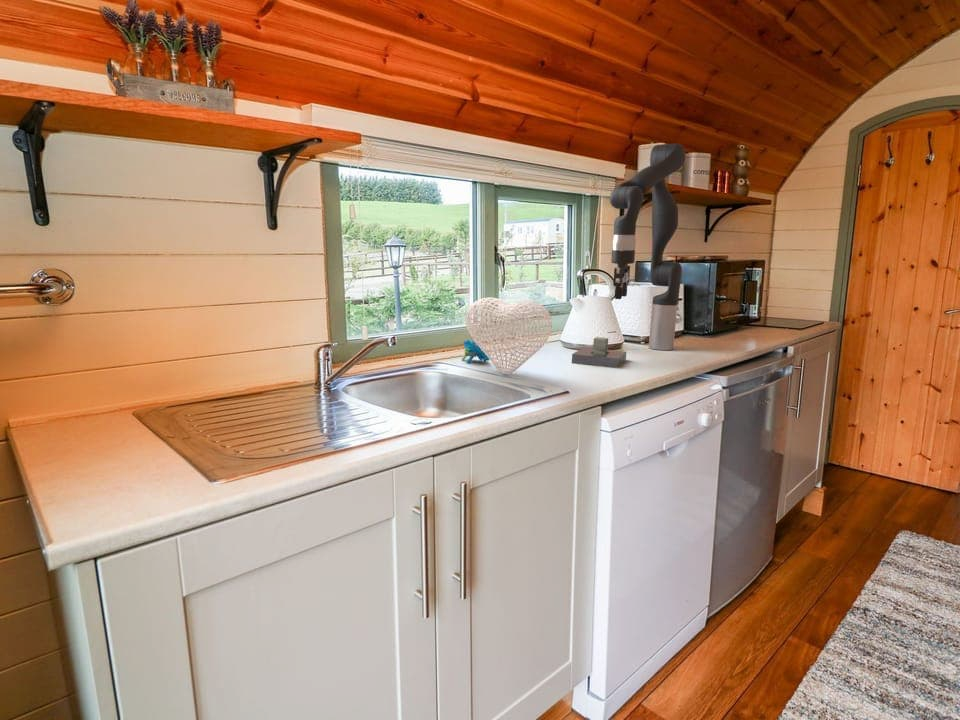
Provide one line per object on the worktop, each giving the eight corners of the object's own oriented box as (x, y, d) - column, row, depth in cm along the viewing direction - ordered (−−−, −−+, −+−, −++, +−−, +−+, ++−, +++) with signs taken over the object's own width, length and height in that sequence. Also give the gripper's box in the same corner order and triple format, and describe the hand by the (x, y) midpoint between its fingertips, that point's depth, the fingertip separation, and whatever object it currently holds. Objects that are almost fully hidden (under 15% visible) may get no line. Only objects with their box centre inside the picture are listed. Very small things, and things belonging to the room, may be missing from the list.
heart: (559, 378, 169) (563, 302, 165) (526, 386, 158) (529, 304, 154) (488, 363, 188) (490, 294, 184) (454, 369, 177) (455, 296, 173)
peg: (595, 360, 199) (596, 336, 198) (606, 361, 198) (608, 338, 196) (592, 361, 196) (593, 338, 194) (604, 363, 194) (605, 339, 192)
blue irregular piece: (496, 359, 187) (476, 338, 183) (485, 373, 185) (465, 352, 181) (478, 357, 197) (459, 338, 192) (468, 371, 195) (448, 351, 191)
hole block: (583, 355, 206) (583, 347, 206) (625, 360, 200) (626, 351, 200) (571, 362, 193) (572, 354, 192) (617, 367, 187) (617, 358, 186)
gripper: (616, 248, 201) (614, 295, 204) (607, 249, 188) (604, 299, 192) (638, 248, 198) (635, 296, 201) (630, 249, 185) (627, 300, 189)
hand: (620, 297), depth 197 cm, fingers open, 8 cm apart
